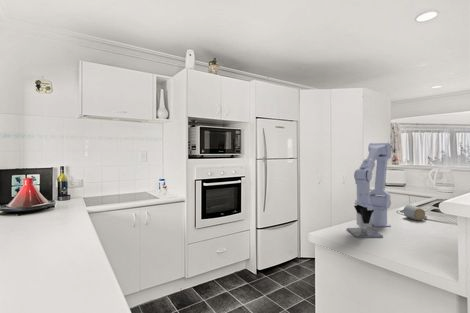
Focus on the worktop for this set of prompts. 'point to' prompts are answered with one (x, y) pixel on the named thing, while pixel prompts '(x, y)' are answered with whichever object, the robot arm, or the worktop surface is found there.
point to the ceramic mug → (414, 212)
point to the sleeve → (360, 220)
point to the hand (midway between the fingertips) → (363, 221)
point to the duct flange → (364, 232)
